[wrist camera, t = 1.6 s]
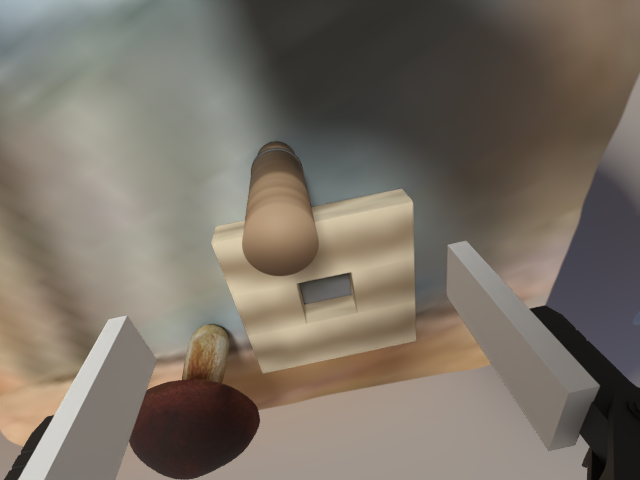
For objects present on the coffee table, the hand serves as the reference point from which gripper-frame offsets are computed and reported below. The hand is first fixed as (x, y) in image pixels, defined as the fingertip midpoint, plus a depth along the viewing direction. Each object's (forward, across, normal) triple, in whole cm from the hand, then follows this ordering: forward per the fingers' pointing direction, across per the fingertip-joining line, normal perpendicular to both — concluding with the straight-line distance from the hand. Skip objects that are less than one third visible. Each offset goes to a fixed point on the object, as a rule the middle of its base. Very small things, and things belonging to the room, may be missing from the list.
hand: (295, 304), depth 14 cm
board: (+18, +1, -14) cm, 23 cm away
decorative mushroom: (+19, -12, -18) cm, 29 cm away
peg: (+19, -1, 0) cm, 19 cm away
